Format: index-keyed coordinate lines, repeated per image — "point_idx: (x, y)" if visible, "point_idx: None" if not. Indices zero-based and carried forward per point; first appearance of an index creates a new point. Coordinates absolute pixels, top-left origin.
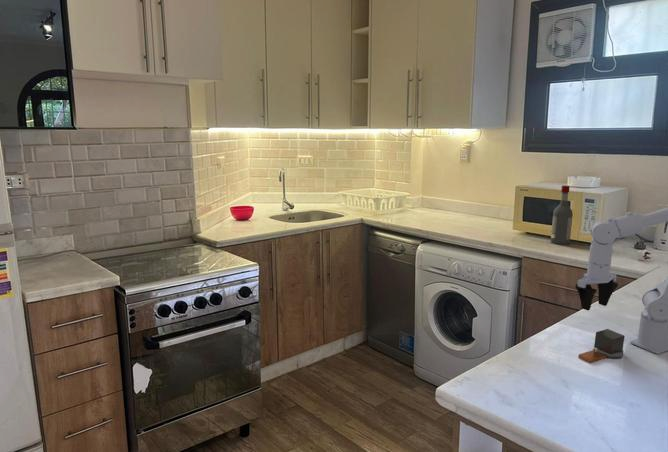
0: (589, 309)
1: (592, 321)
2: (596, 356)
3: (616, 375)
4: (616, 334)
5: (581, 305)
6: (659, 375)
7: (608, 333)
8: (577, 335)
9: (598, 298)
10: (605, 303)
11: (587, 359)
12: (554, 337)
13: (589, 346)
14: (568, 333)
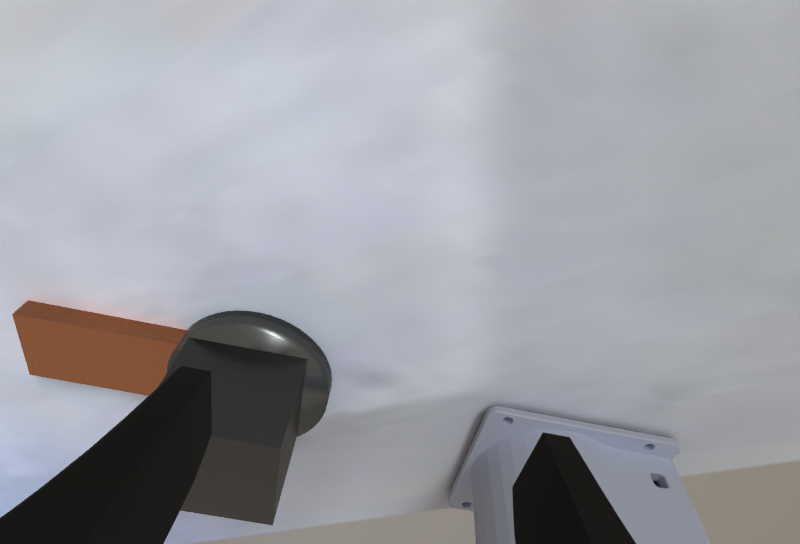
0: (202, 445)
1: (790, 97)
2: (102, 377)
3: (72, 453)
4: (239, 499)
5: (154, 391)
6: (246, 529)
7: (205, 470)
8: (337, 152)
9: (568, 493)
10: (518, 522)
11: (30, 356)
12: (114, 37)
13: (234, 283)
14: (309, 80)
